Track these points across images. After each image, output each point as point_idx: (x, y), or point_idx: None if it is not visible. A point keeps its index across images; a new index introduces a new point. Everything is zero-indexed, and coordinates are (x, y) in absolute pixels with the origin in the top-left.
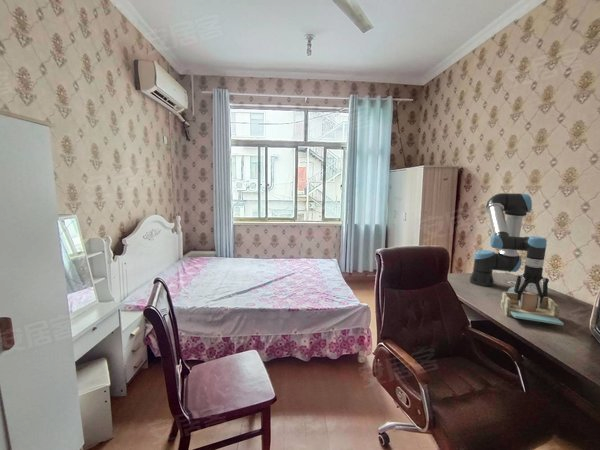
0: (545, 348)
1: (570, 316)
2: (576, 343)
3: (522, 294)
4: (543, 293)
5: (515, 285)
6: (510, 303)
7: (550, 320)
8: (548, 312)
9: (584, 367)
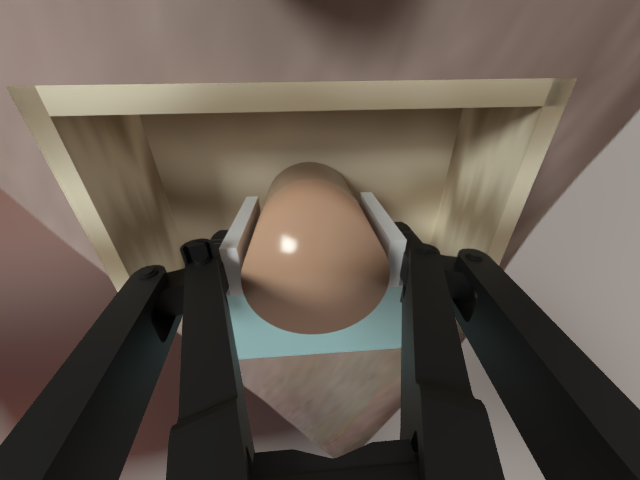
0: (296, 419)
1: (588, 84)
2: (395, 370)
3: (271, 110)
4: (465, 272)
5: (86, 347)
6: (196, 120)
7: (367, 339)
8: (427, 198)
9: (350, 444)
